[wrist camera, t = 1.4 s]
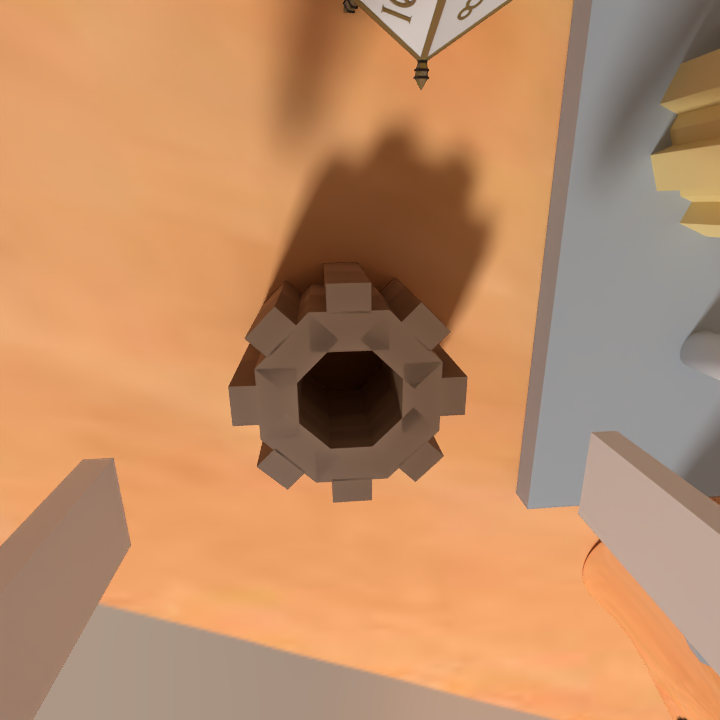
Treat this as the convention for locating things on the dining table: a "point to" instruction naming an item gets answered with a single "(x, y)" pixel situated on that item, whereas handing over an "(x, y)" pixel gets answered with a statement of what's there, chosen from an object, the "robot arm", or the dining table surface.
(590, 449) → the robot arm
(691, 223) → the gear
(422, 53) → the game die
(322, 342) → the walnut gear
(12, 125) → the dining table surface
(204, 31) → the dining table surface
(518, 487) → the gear board
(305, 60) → the dining table surface
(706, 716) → the beer glass
